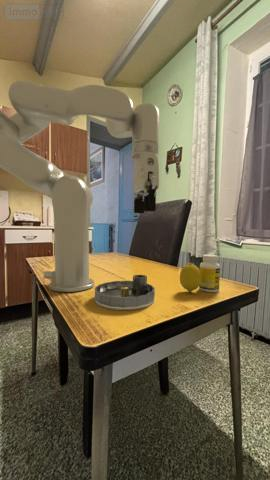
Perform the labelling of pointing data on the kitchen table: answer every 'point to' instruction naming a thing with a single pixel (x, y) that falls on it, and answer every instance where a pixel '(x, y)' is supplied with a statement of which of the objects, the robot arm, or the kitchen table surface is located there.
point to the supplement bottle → (210, 274)
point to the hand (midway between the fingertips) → (143, 212)
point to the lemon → (190, 277)
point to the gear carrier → (122, 296)
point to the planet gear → (139, 285)
